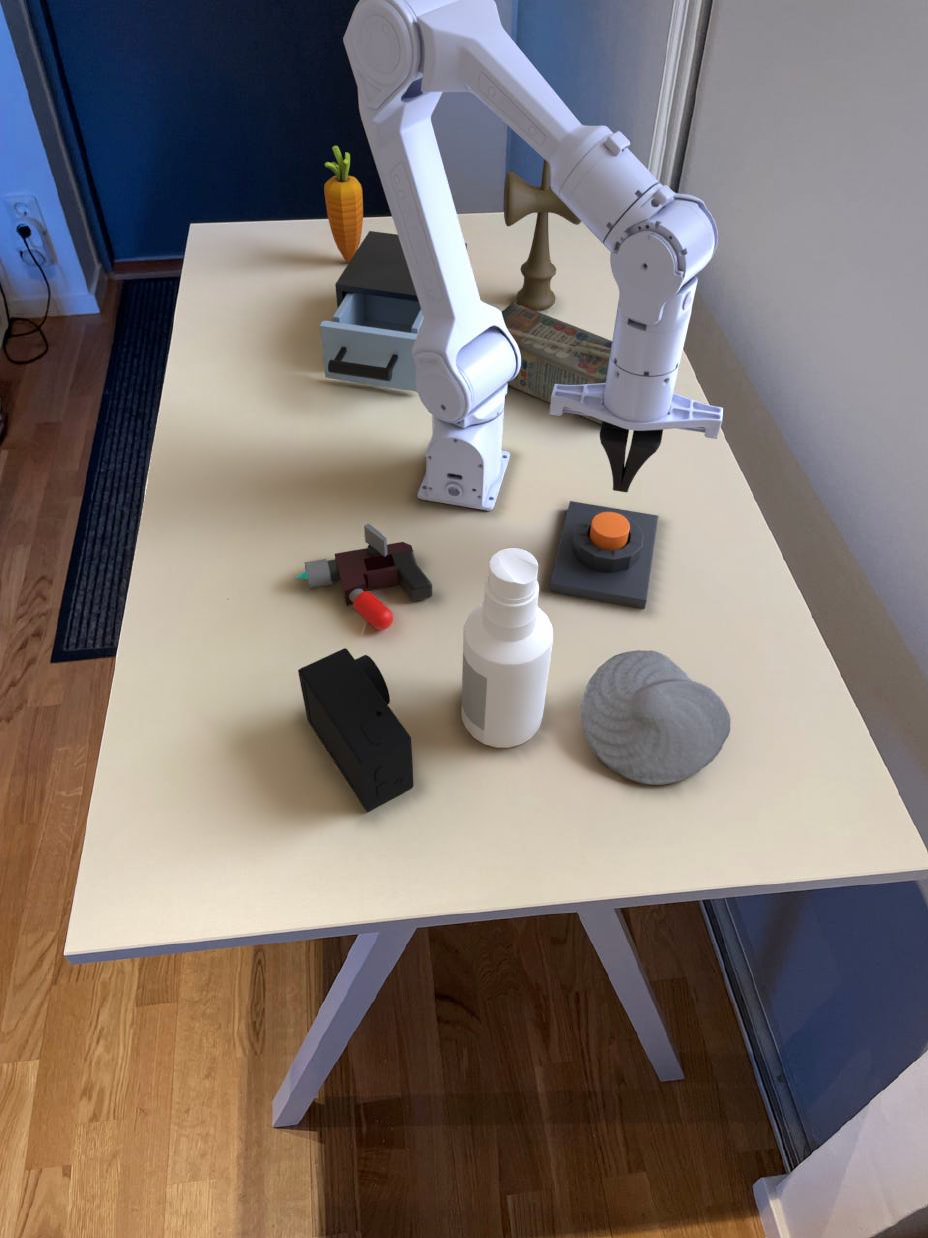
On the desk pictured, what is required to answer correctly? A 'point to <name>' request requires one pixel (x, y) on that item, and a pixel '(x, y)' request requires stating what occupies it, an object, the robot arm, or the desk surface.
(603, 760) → the seashell
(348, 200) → the carrot
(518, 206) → the kendama
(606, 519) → the button
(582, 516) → the panel
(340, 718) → the digital camera
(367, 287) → the drawer cabinet
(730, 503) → the desk surface
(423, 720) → the desk surface
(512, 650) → the white plastic bottle
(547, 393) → the beverage carton
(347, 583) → the toy gun
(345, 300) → the light blue drawer
